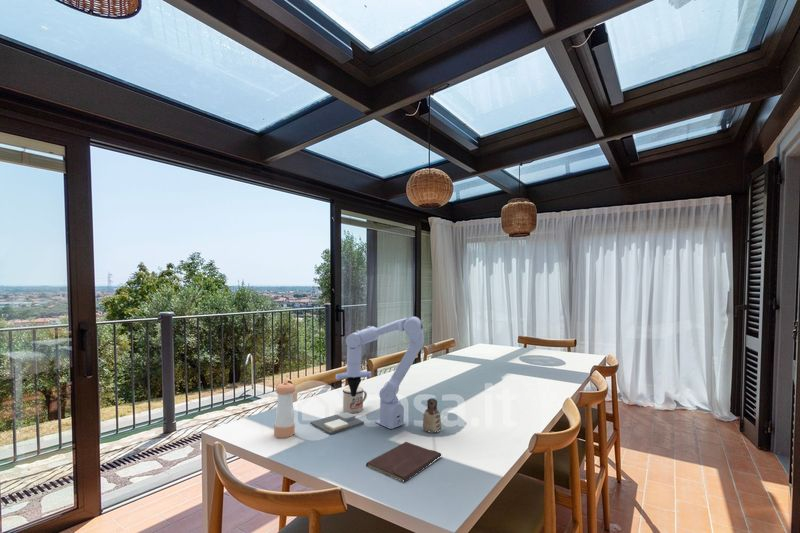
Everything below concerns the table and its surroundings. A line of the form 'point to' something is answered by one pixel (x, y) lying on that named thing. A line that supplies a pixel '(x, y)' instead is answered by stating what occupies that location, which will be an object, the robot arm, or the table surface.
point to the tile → (336, 425)
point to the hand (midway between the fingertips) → (353, 395)
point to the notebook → (403, 461)
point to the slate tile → (345, 416)
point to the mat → (320, 422)
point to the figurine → (431, 417)
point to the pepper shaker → (284, 411)
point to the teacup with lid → (353, 400)
